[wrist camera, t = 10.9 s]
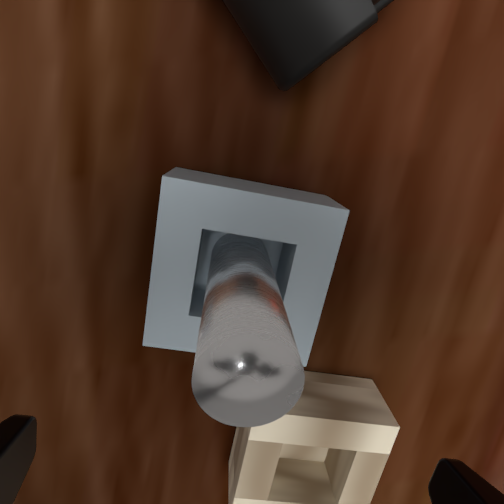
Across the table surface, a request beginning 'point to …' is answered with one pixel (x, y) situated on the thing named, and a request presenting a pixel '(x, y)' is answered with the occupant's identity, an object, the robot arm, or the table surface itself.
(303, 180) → the table surface
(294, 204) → the slate block
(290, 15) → the end cap
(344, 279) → the table surface
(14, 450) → the robot arm
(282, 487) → the birch block
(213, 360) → the cylinder
